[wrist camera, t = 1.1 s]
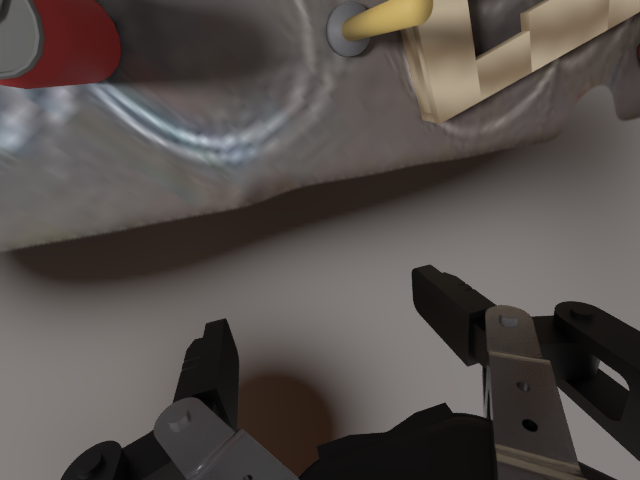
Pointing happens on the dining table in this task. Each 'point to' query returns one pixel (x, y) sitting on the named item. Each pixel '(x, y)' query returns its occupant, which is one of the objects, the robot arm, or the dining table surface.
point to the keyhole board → (496, 49)
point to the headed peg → (372, 22)
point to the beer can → (56, 43)
